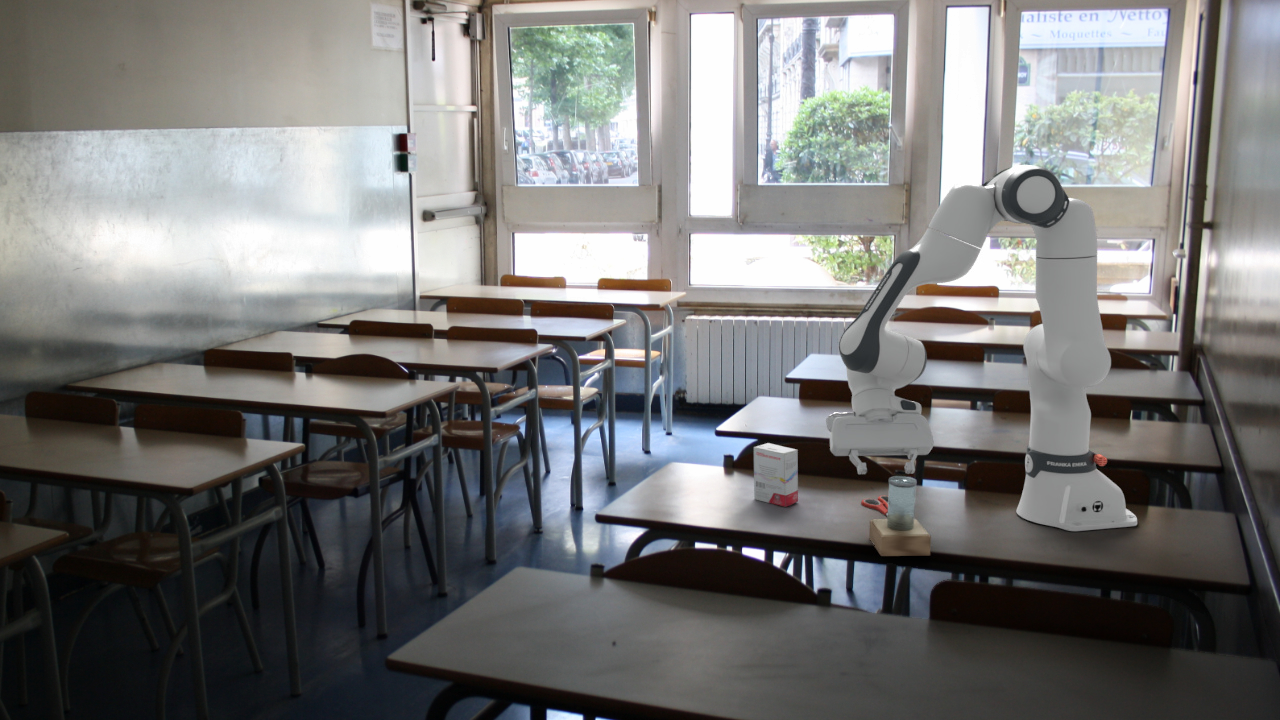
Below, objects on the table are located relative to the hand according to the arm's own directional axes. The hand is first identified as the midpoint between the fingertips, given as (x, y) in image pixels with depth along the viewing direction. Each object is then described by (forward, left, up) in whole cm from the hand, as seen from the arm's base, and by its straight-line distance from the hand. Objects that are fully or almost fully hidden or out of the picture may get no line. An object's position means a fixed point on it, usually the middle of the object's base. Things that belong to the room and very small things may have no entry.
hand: (886, 472), depth 196 cm
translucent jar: (0, +11, -7) cm, 13 cm away
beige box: (0, +10, -11) cm, 15 cm away
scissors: (-4, -7, -12) cm, 14 cm away
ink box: (+19, -18, -12) cm, 28 cm away
